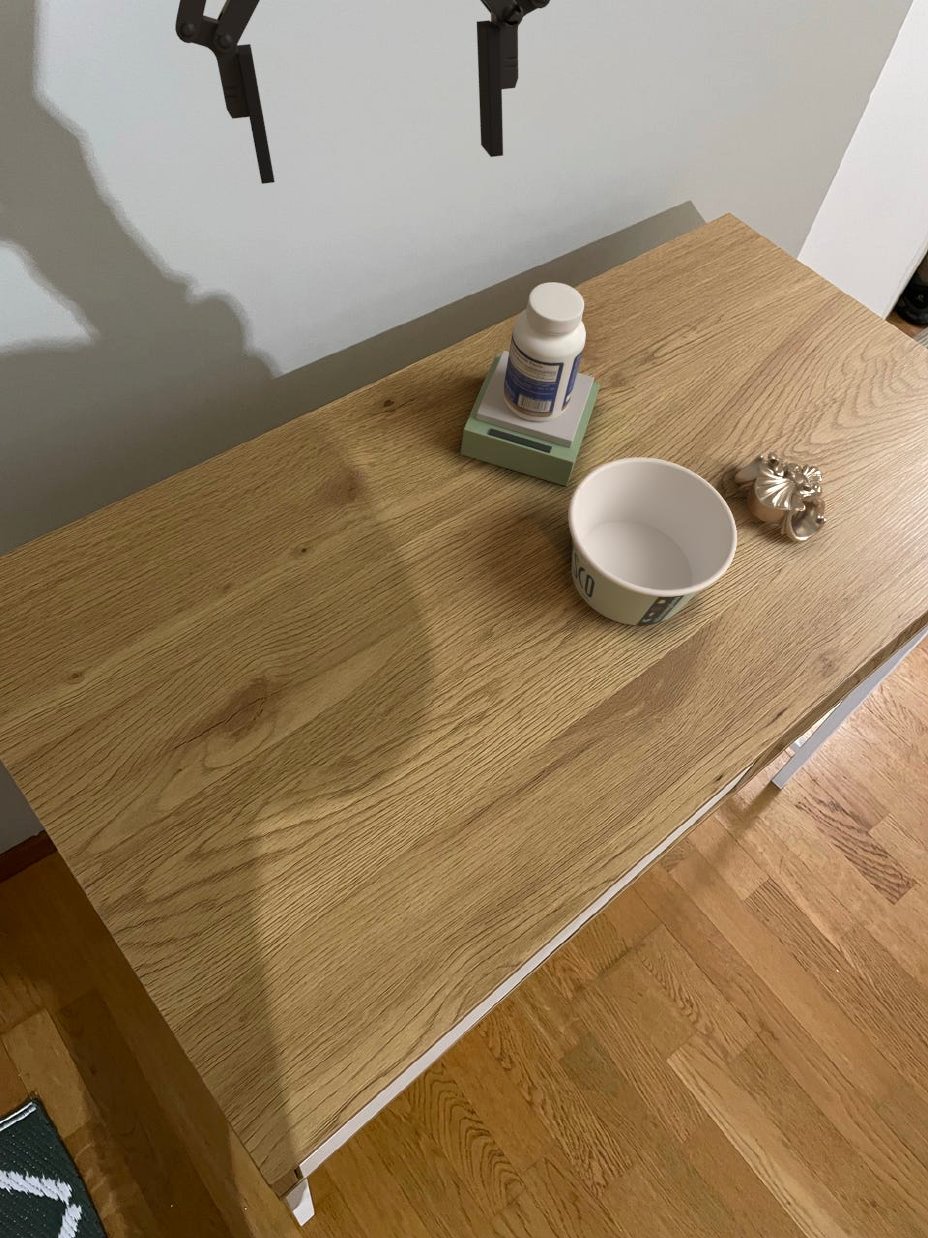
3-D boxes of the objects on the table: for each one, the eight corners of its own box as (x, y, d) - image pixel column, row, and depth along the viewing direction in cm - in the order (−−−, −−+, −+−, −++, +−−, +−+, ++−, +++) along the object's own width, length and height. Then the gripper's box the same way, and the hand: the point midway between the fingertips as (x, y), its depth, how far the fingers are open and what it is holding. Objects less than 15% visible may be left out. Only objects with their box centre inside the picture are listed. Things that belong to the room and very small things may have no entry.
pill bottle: (541, 364, 76) (563, 265, 68) (582, 407, 74) (609, 310, 66) (488, 389, 74) (503, 290, 66) (528, 433, 72) (549, 337, 64)
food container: (738, 614, 70) (770, 565, 64) (596, 663, 67) (617, 616, 61) (661, 493, 75) (684, 439, 70) (527, 533, 72) (540, 479, 67)
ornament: (842, 521, 76) (863, 493, 72) (782, 557, 73) (800, 529, 70) (775, 455, 79) (791, 425, 75) (715, 487, 76) (729, 457, 73)
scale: (460, 454, 76) (464, 422, 72) (492, 379, 80) (497, 345, 77) (566, 486, 75) (575, 455, 72) (592, 409, 79) (602, 376, 76)
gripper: (573, -349, 46) (564, 124, 60) (52, -322, 43) (171, 168, 57) (623, -370, 41) (600, 156, 55) (29, -340, 38) (167, 207, 52)
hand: (381, 163), depth 56 cm, fingers open, 13 cm apart
